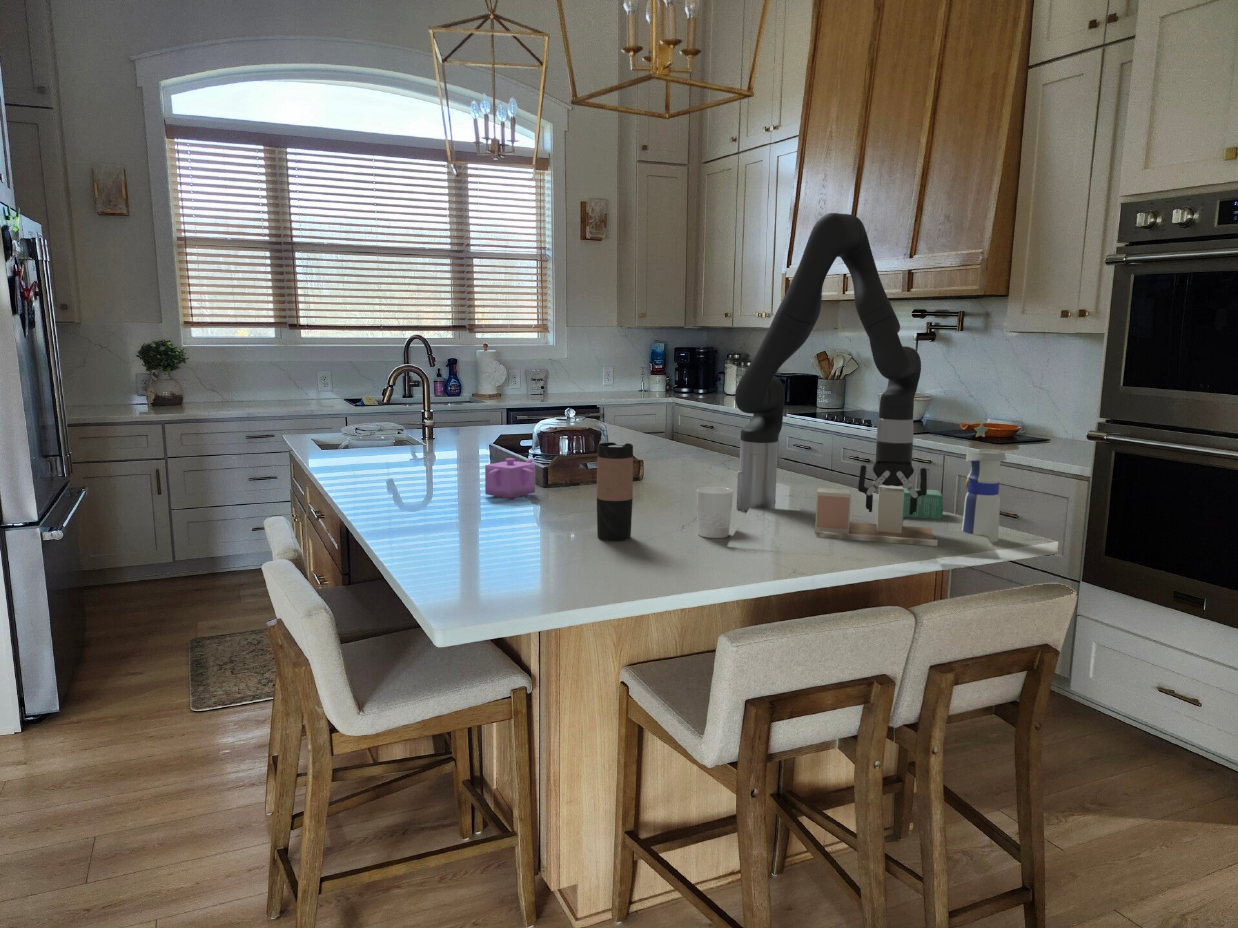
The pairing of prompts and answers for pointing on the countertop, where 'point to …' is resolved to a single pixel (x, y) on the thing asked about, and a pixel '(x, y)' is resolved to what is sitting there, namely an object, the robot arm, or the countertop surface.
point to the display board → (884, 534)
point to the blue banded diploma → (983, 492)
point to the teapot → (510, 478)
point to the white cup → (714, 511)
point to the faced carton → (833, 510)
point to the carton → (890, 509)
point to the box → (925, 505)
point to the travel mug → (614, 491)
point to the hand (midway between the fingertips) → (890, 512)
